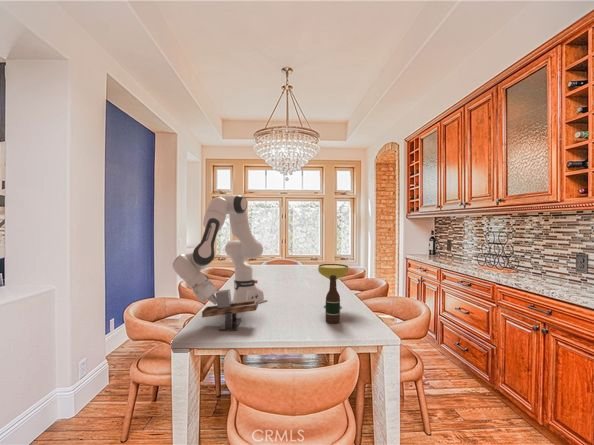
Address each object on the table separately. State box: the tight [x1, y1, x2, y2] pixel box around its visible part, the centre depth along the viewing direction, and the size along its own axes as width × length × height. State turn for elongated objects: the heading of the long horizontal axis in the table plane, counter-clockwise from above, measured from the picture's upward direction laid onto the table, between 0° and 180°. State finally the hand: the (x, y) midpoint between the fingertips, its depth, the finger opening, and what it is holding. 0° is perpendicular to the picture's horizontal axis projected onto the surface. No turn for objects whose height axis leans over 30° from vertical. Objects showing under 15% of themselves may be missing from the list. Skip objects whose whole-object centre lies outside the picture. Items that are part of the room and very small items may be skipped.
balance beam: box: [201, 300, 259, 318], centre depth 166 cm, size 26×10×3 cm, turn 91°
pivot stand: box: [218, 312, 243, 332], centre depth 166 cm, size 8×17×8 cm, turn 1°
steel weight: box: [215, 289, 232, 309], centre depth 165 cm, size 6×5×9 cm
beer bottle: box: [325, 275, 341, 324], centre depth 173 cm, size 8×8×24 cm
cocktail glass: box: [317, 263, 349, 310], centre depth 201 cm, size 18×18×25 cm
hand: (217, 303), depth 165 cm, fingers closed, pressing on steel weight
